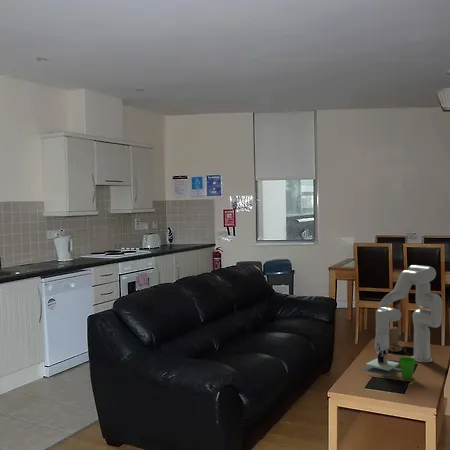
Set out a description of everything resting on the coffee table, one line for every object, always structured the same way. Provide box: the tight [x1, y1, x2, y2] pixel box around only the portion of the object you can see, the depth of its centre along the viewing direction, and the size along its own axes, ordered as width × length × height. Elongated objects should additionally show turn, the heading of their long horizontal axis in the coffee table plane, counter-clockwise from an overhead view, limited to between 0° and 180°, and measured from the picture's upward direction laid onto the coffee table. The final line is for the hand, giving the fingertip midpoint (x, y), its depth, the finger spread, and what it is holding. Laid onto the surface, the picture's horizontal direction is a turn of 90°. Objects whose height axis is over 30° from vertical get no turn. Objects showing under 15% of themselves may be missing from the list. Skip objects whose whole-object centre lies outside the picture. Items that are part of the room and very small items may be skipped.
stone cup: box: [388, 326, 403, 353], centre depth 354 cm, size 15×12×15 cm
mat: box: [360, 366, 401, 377], centre depth 308 cm, size 18×18×1 cm
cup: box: [398, 356, 417, 380], centre depth 293 cm, size 9×9×11 cm
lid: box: [365, 354, 400, 371], centre depth 308 cm, size 14×14×6 cm
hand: (382, 361), depth 308 cm, fingers closed on lid, 4 cm apart
